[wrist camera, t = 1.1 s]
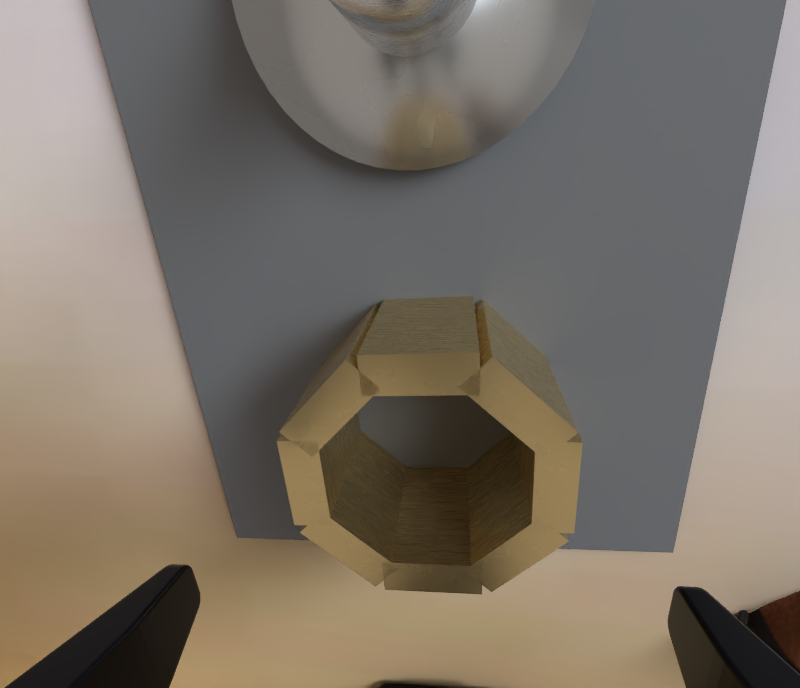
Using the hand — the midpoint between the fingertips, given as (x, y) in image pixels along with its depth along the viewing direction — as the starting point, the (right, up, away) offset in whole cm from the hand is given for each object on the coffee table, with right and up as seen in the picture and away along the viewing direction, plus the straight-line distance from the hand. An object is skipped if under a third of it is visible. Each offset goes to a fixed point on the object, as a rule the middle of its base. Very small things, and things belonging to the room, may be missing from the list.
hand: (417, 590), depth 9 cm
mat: (0, +7, +5) cm, 9 cm away
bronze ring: (+1, +3, +6) cm, 7 cm away
